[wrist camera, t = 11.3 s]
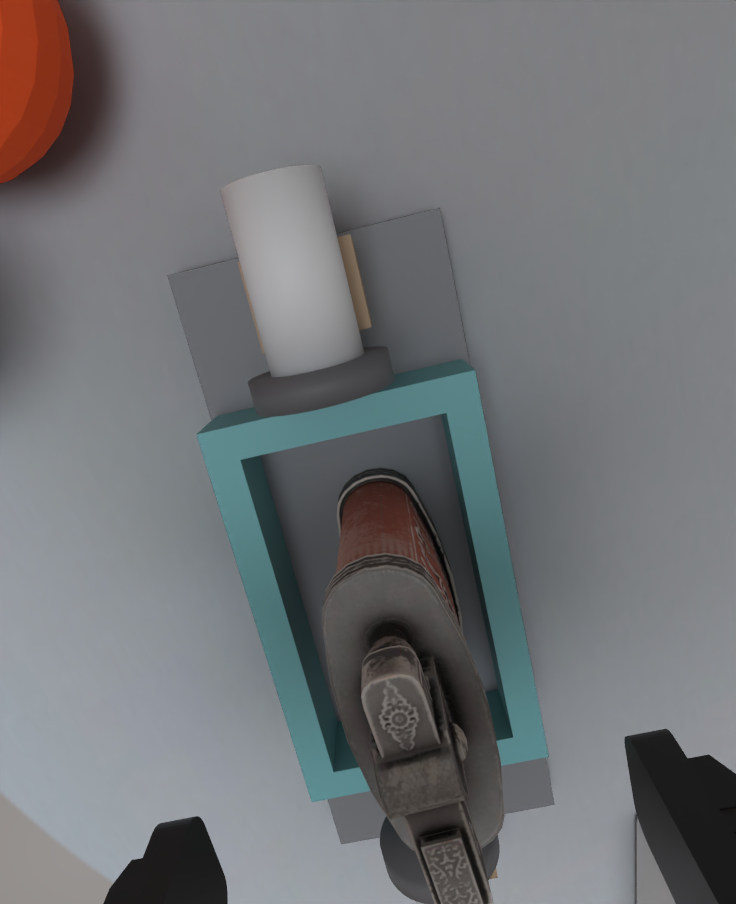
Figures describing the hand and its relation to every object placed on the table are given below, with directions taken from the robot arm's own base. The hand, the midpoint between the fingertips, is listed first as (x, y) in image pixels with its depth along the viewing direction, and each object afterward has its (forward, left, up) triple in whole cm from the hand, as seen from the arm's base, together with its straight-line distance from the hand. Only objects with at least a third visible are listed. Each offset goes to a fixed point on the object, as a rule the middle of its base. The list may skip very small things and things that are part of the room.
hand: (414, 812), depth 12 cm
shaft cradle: (0, 0, -11) cm, 11 cm away
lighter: (0, 0, -11) cm, 11 cm away
